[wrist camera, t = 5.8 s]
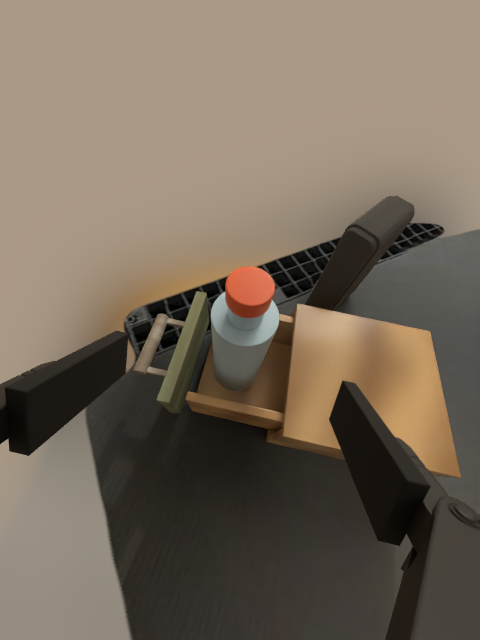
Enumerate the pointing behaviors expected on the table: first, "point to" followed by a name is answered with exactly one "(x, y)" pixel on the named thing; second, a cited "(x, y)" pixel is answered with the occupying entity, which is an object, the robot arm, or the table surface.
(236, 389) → the bottle
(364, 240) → the card reader
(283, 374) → the drawer
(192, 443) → the table surface
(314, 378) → the cabinet
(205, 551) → the table surface
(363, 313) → the table surface
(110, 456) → the table surface
